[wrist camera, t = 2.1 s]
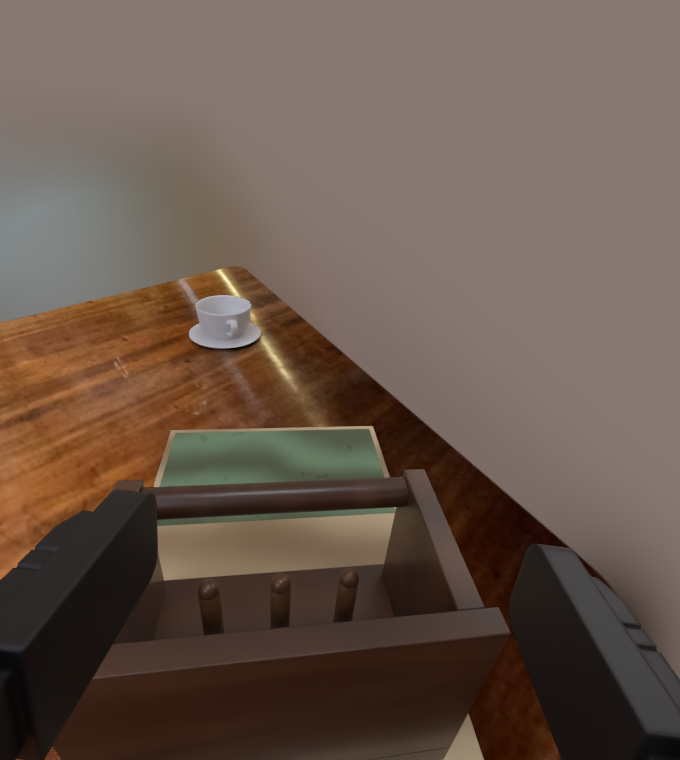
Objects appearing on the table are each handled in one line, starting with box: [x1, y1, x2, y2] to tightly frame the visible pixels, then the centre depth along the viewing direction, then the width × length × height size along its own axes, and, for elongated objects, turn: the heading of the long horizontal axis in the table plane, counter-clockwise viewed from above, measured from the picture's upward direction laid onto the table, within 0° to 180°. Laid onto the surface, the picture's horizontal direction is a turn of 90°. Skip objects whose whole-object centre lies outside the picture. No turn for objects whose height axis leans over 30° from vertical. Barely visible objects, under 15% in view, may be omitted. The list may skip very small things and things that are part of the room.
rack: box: [53, 469, 510, 760], centre depth 21 cm, size 10×16×12 cm, turn 98°
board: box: [153, 426, 484, 760], centre depth 31 cm, size 28×20×1 cm
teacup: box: [189, 295, 261, 348], centre depth 60 cm, size 10×10×5 cm
